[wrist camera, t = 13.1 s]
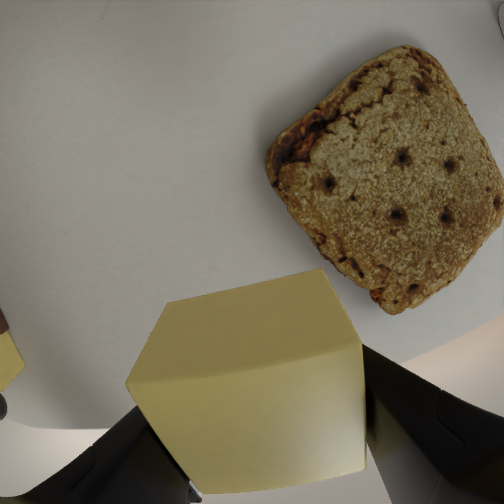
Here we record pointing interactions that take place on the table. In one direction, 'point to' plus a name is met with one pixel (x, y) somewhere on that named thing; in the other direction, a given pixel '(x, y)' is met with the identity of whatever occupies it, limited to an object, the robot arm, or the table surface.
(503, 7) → the cup
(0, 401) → the blade
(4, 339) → the butter
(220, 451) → the butter pat
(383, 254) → the pastry
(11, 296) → the table surface
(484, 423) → the robot arm
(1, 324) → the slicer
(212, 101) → the table surface
